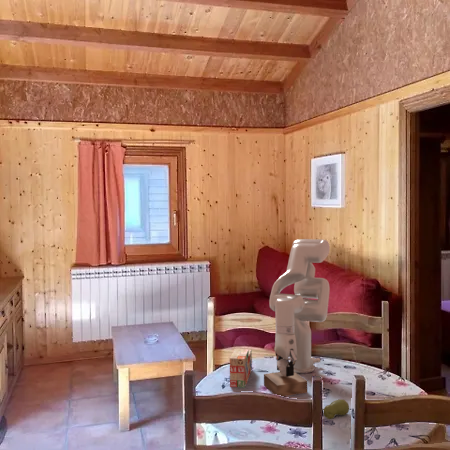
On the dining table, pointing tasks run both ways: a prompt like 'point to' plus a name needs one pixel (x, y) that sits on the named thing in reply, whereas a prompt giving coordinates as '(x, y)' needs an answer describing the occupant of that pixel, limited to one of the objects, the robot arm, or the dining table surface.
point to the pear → (336, 408)
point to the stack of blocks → (240, 367)
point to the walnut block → (285, 384)
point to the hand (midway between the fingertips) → (285, 372)
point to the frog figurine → (282, 366)
